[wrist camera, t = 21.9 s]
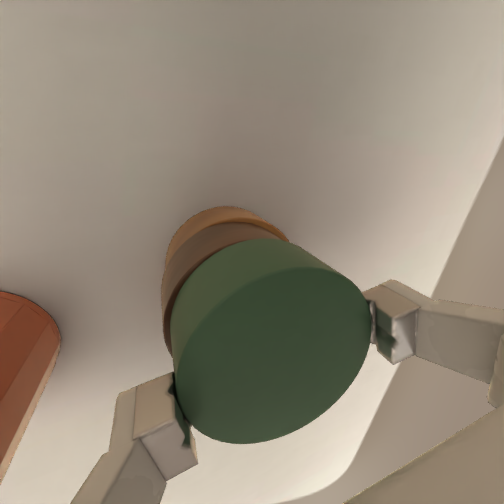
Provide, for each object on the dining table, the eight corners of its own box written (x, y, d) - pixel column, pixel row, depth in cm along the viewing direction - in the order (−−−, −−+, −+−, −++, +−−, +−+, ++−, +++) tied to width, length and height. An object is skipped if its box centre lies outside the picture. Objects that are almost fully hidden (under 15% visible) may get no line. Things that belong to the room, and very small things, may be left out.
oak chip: (201, 182, 13) (212, 190, 11) (295, 237, 16) (320, 253, 13) (143, 290, 14) (141, 318, 11) (242, 324, 17) (256, 352, 14)
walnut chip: (206, 194, 11) (220, 206, 8) (314, 256, 13) (348, 279, 11) (135, 322, 11) (130, 366, 9) (251, 356, 14) (270, 395, 12)
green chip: (227, 204, 8) (256, 225, 6) (352, 277, 11) (404, 310, 9) (137, 363, 9) (132, 434, 7) (274, 393, 12) (303, 451, 10)
